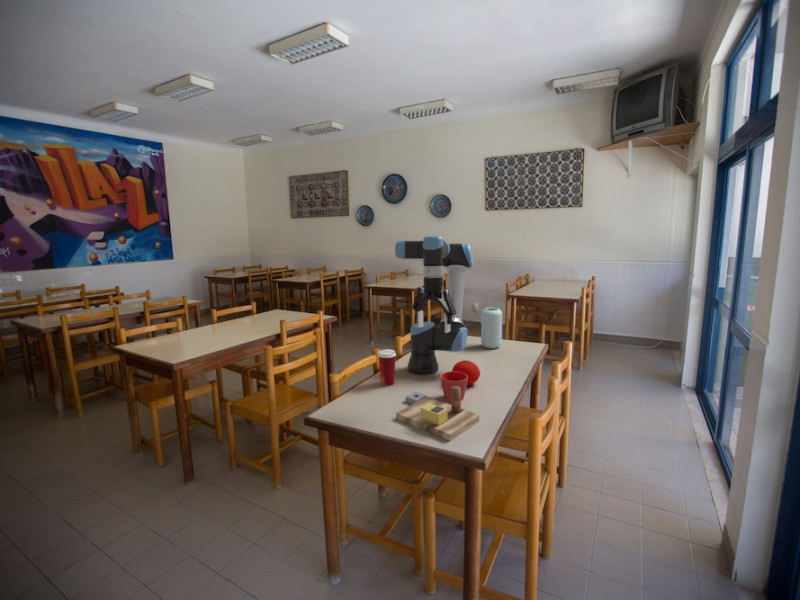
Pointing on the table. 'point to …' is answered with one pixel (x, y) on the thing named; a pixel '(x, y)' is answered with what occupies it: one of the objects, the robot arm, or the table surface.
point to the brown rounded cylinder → (456, 399)
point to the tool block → (415, 397)
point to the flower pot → (453, 383)
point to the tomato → (468, 370)
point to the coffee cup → (387, 366)
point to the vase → (491, 327)
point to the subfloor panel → (445, 430)
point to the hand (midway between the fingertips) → (433, 329)
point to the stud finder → (434, 414)
